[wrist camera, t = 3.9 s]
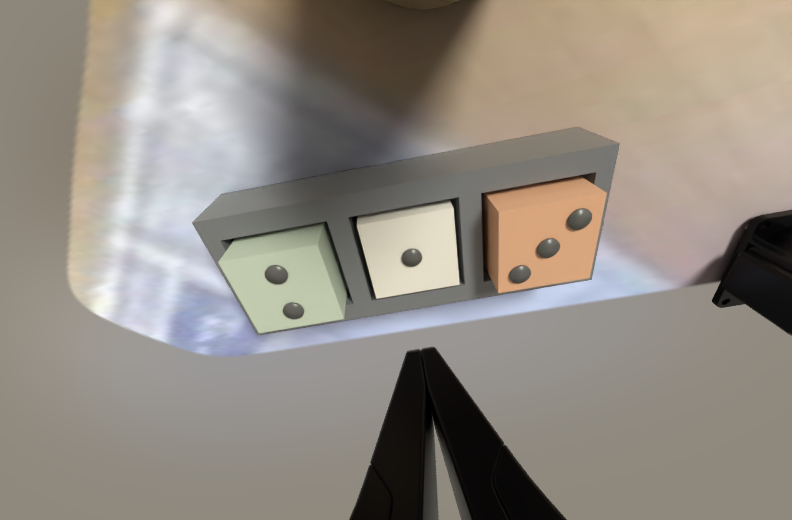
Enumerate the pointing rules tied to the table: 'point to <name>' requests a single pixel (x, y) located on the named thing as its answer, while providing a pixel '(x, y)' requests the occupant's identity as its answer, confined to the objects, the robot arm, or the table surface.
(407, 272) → the tile one dot
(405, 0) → the supplement bottle
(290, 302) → the tile two dots
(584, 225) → the tile three dots
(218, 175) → the table surface
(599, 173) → the grey tile tray
